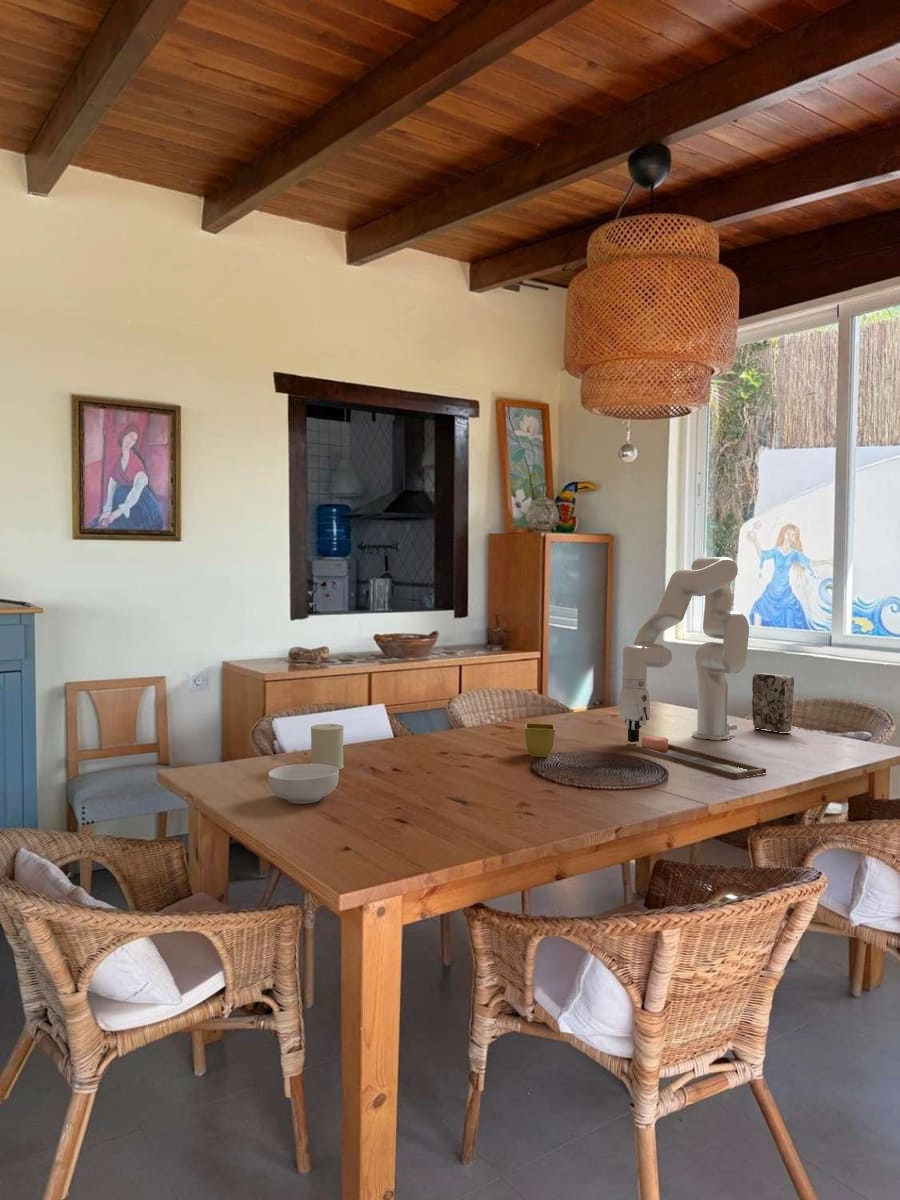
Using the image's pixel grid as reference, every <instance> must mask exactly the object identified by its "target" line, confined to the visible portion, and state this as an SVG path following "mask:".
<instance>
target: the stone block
mask: <svg viewBox="0 0 900 1200" xmlns="http://www.w3.org/2000/svg"><path fill="white" fill-rule="evenodd" d="M751 684H752V685H751V686H752V687H751V689H752V698H751V699H752V700H751V705H752V706H751V707H752V711H751V712H752V723H753V726H754V727H753V728H754V729H755V728H759V729H767V730H771V731H777V732H789V731H792V721H793V707H794V689H795V678H794V676H792V675H788V674H779V673H778V674H775V673H768V672H759V673H758V672H756V673H754V675H753V677H752V683H751Z"/></svg>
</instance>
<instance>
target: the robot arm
mask: <svg viewBox="0 0 900 1200" xmlns="http://www.w3.org/2000/svg"><path fill="white" fill-rule="evenodd" d="M738 569H739V568H738V564H737V563H736V561H735V560H734V559H732V558H730V557H727V556H723V557H722V556H720V557H718V556H713V557H712V556H707V557H706V556H705V557H704V556H703V557H699V558H697V559H695V560H693V561H692V563H691V569H681V570H677V571H675V572H674V573H673V574H672V575H671V577H670V579H669V581H668V584H667V586H666V588H665V591H664V593H663V596H662V598H661V601H660V604H659V606H658V608H657V610H656V611H655V612H654V614H652V615H651V616H650V617H649V619H647V621H645V623H644V624H643V625H642V626H641V628H640V629H639V630H638V632H637V635H636V637H635V640H634V642H633V644H629V645H625V646H623V648H622V671H621V672H622V673H621V674H622V676H621V679H622V681H621V682H622V683H621V684H622V685H621V689H620V696H619V708H618V710H619V716H620V717H621V721H622V722H624V723H625V725H626V729H627V742H630V743H637V742H639V741H640V729H641V727H642V726H646V725H647V721H650V720H651V719H650V718H651V704H650V703H651V702H650V696H649V695H650V694H649V690H648V689H647V685H648V683H647V668H653V669H663V668H666V667H668V666H670V664H671V662H672V660H673V653H672V651H671V649H669V648H668V647H667V646H666V645H663V644H658V643H656V641H657V639H658V638H659V637H660V635H661V634H662V633H664V632H665V631H667V630H668V629H670V628H672V627H674V626H676V625H678V624H680V623H681V622H682V621H683V619H685V615H686V613H687V610H688V607H689V604H690V602H691V600H692V599H693V598H692V597H704V611H703V620H702V621H703V622H702V630H703V633H704V635H706V636H707V637H709V638H712V639H718V640H722V642H713V641H712V642H711V641H709V642H705V643H702V644H701V645H699V646H698V647H697V649H696V652H695V657H694V658H695V664H696V665H695V666H696V671H697V722H696V724H697V725H696V729H697V730H693V731H692V733H691V734H692V737H693V736H694V738H695V739H700V740H706V739H710V740H709V741H722V740H721V739H728V738H731V737H732V734H731V733H730V731H735V730H737V728H738V726H737V724H736V723H732V724H730V723H728V693H729V692H728V691H729V690H728V689H729V686H728V679H727V677H726V674H727V675H728V674H729V675H736V674H738V673H740V672H741V671H742V670H743V669H744V668H745V665H746V662H747V657H748V656H747V655H748V645H749V637H750V636H749V634H750V626H749V625H750V624H749V622H748V618H747V616H745V615H744V614H743V613H741V612H740V611H735V610H732V602H733V601H732V599H733V597H732V591H731V588H730V586H729V584H731V583H732V582H734V580H735V579H736V578H737V575H738V571H739V570H738ZM731 739H732V738H731ZM728 740H729V739H728Z"/></svg>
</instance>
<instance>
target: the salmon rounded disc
mask: <svg viewBox="0 0 900 1200" xmlns="http://www.w3.org/2000/svg"><path fill="white" fill-rule="evenodd" d="M668 744H669V738H667V737H664V736H658V735H656V736H655V735H646V736H642V737H641V746H642V747H643V748H647V749H650V750H654V751H658V752H661V753H663V752H667V751H668Z"/></svg>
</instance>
